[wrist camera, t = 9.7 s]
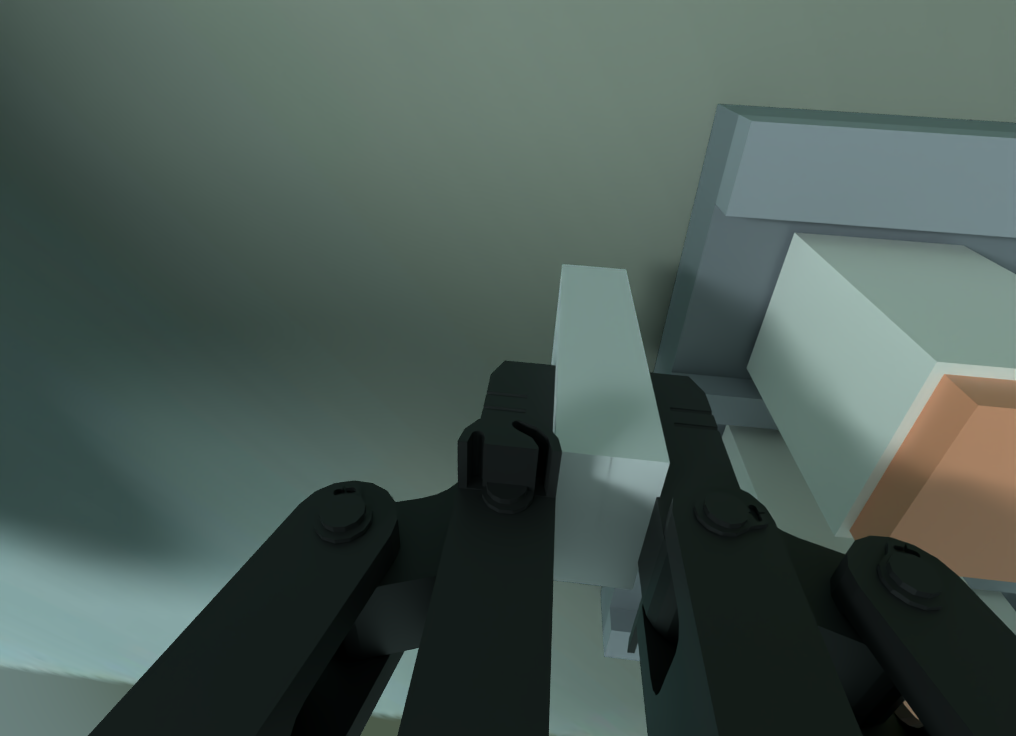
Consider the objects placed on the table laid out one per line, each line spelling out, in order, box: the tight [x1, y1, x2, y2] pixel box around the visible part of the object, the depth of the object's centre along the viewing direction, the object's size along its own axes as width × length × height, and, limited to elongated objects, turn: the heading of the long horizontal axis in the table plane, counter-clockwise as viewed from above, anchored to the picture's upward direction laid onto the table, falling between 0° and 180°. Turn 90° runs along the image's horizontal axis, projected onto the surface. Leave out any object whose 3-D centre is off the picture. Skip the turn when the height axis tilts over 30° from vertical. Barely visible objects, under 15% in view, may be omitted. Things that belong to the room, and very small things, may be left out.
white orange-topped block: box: [747, 233, 1016, 583], centre depth 11 cm, size 4×4×7 cm
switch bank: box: [601, 104, 1016, 661], centre depth 18 cm, size 16×21×3 cm
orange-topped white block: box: [722, 425, 969, 719], centre depth 14 cm, size 4×4×7 cm
